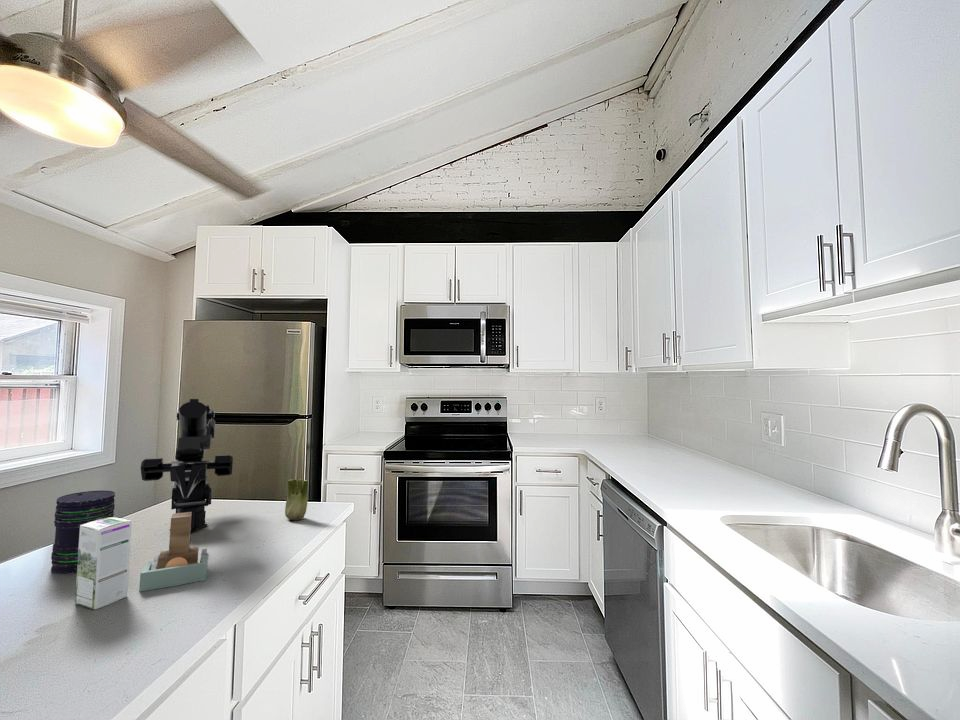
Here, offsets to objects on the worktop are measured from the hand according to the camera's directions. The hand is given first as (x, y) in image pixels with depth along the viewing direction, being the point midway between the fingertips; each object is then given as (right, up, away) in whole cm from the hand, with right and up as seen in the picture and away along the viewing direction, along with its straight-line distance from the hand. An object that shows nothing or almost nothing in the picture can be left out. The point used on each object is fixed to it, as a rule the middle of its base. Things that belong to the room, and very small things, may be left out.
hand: (185, 497), depth 102 cm
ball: (+5, -10, -10) cm, 15 cm away
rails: (+2, -13, -4) cm, 14 cm away
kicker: (+3, -13, -7) cm, 16 cm away
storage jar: (-18, -13, -7) cm, 23 cm away
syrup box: (-1, -13, -21) cm, 25 cm away
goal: (+6, -13, -12) cm, 19 cm away
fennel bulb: (+14, -16, +28) cm, 35 cm away
